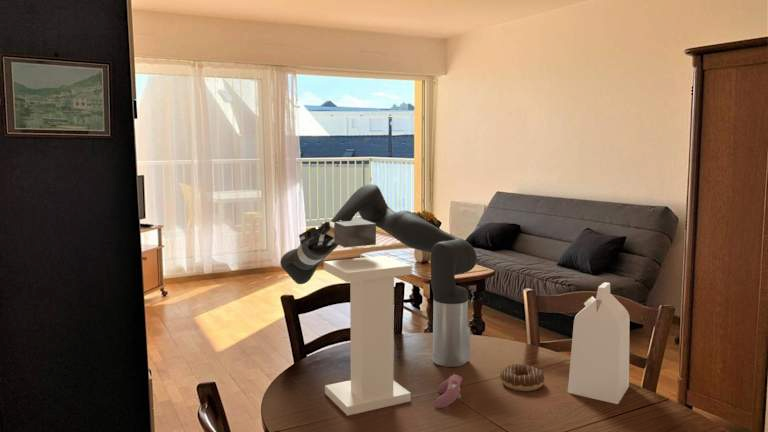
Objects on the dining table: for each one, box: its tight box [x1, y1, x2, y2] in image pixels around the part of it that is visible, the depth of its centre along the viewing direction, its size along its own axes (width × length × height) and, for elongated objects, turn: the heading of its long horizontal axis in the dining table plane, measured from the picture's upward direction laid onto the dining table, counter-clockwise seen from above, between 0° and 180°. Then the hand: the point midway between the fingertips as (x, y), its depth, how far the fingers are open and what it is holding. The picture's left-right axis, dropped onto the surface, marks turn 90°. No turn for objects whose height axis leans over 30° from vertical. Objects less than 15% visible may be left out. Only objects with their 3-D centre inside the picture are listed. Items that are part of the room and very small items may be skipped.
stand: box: [323, 254, 413, 416], centre depth 141 cm, size 16×13×32 cm
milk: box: [567, 281, 630, 405], centre depth 146 cm, size 12×12×26 cm
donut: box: [499, 363, 545, 392], centre depth 151 cm, size 11×11×4 cm
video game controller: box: [433, 373, 463, 409], centre depth 141 cm, size 10×5×7 cm, turn 169°
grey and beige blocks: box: [320, 219, 377, 248], centre depth 150 cm, size 8×21×5 cm, turn 28°
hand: (335, 224), depth 154 cm, fingers closed on grey and beige blocks, 3 cm apart
